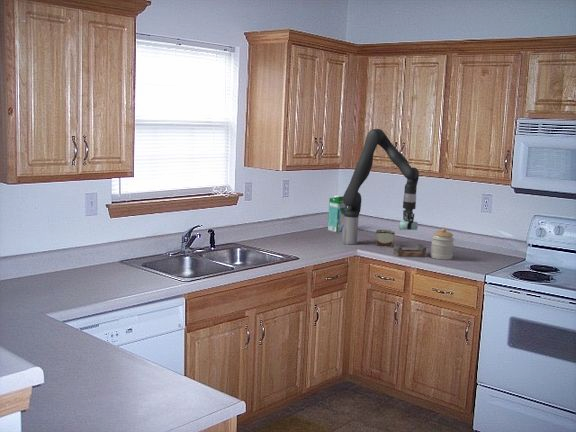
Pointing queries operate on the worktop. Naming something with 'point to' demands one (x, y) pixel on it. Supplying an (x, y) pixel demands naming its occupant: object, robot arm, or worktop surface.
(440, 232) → the jar
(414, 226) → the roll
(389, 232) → the food container
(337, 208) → the milk carton
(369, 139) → the robot arm
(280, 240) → the worktop surface
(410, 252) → the holder
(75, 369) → the worktop surface
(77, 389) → the worktop surface
